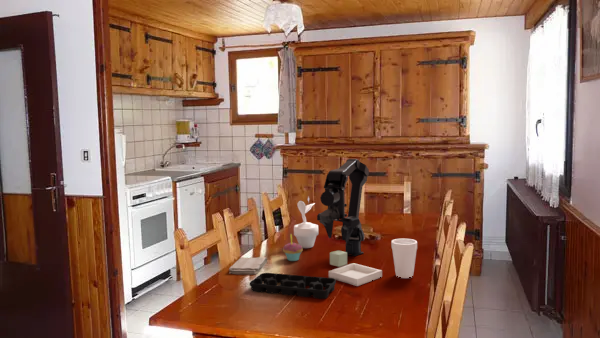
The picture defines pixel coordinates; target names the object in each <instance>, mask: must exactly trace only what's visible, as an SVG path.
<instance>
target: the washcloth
mask: <svg viewBox="0 0 600 338" xmlns="http://www.w3.org/2000/svg"><path fill="white" fill-rule="evenodd" d="M267 263H268V259H267V257H264V256H263V257H262V256H261V257H260V256H259V257H239V259H238V260H236V261H235V262H234V263H233V265H231V266H229V268H228V271H229V273H228V274H229V275H230V274H231V275H250V276H251V275H256V274H258V273H260V272H261V270H262V269H263V268H264V266H265V265H266V264H267Z"/></svg>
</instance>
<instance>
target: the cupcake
mask: <svg viewBox="0 0 600 338" xmlns="http://www.w3.org/2000/svg"><path fill="white" fill-rule="evenodd" d="M289 237H290V242H288V243H286V244H285V245H284V246H283V247H282V252H283V253H284V255H285V256H286V260H288V261H290V262H296V261H299V259H300V257H301V254H302V252H303V249H304V248H303V247H302V246H301V245H299V243H298V242H293V234H292V233H290V236H289Z"/></svg>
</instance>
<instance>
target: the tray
mask: <svg viewBox="0 0 600 338" xmlns="http://www.w3.org/2000/svg"><path fill="white" fill-rule="evenodd" d="M380 277H381V278H382V277H383V270H382V269H377V268H374V267H371V266H370V267H369V266H368V265H367V266H366V265H362V264H358V263H354V262H353V263H349V264H346V265H343V266H340V267H337V268H334V269H332V270H328V278H333V279H335V280H336V281H339V282H342V283H346V284H349V285H353V286H354V287H355V286H356V287H359V286H361V285H364V284H365V285H366V284H367V283H369V282H372V280H373V281H375V280H378V279H381V278H380Z"/></svg>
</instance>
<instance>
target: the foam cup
mask: <svg viewBox="0 0 600 338" xmlns="http://www.w3.org/2000/svg"><path fill="white" fill-rule="evenodd" d="M390 244H391V249H392V258H393V264H394V272H395V276H396V277H397V276H398V277H397V278H399V277H401V278H400V279H410V278H409V277H411V278H413V277H414V272H415V266H416V265H415V264H416V258H417V250H418V241H417V240H416V239H412V238H404V237H403V238H395V239H391V243H390ZM412 276H413V277H412Z"/></svg>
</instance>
